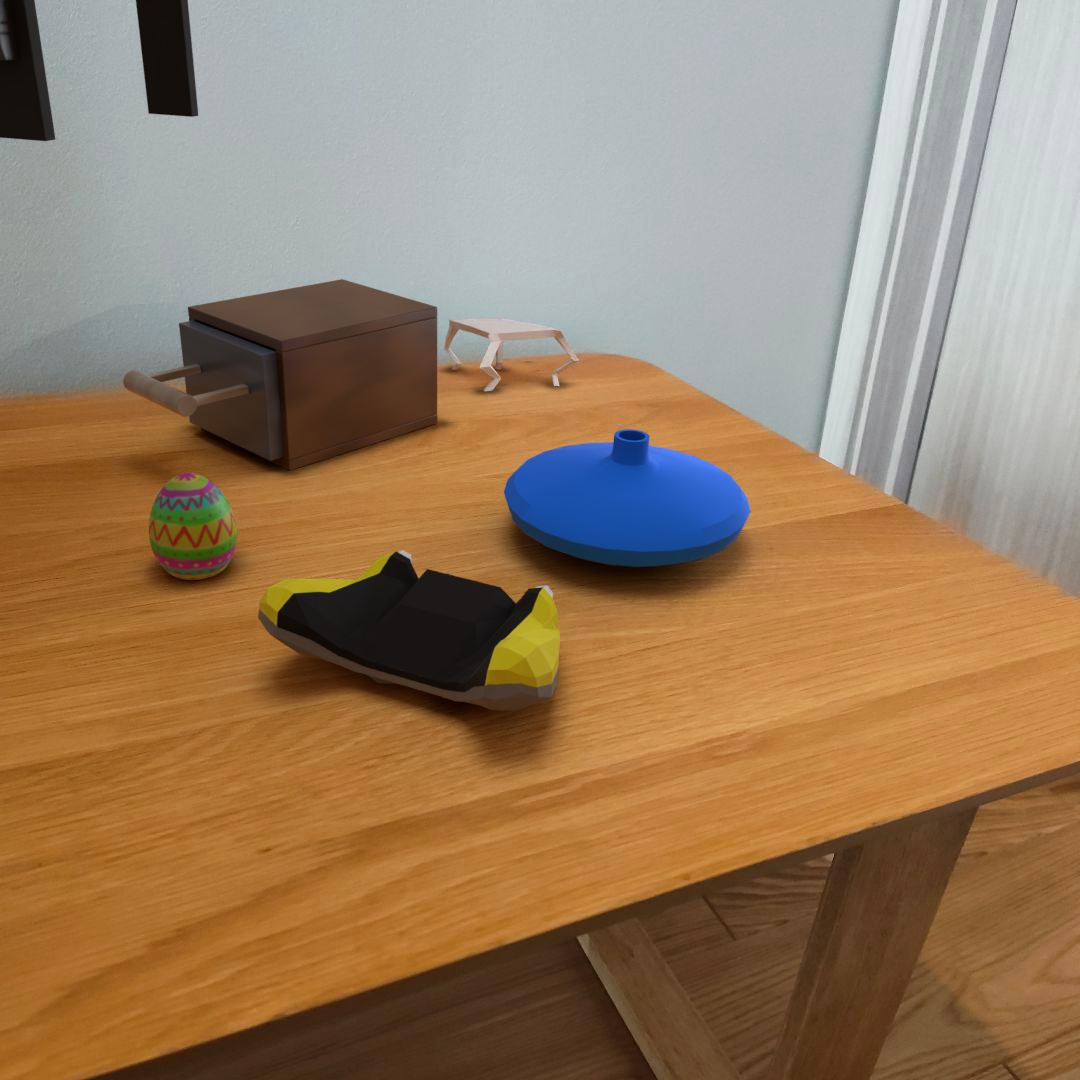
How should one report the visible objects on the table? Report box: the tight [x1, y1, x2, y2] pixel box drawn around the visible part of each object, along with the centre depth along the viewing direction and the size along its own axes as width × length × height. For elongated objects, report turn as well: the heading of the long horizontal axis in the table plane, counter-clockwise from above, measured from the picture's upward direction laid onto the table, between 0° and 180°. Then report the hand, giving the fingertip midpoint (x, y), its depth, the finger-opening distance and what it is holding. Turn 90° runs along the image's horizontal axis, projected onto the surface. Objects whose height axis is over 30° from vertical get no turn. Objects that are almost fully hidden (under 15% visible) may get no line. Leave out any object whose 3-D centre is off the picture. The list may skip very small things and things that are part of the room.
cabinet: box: [187, 278, 438, 471], centre depth 83 cm, size 15×12×10 cm
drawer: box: [122, 320, 284, 462], centre depth 79 cm, size 19×10×8 cm, turn 138°
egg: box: [148, 472, 238, 581], centre depth 62 cm, size 5×5×6 cm
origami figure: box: [443, 317, 580, 392], centre depth 96 cm, size 12×8×5 cm
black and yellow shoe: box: [257, 549, 561, 712], centre depth 53 cm, size 15×6×10 cm
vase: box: [503, 428, 751, 568], centre depth 68 cm, size 16×16×7 cm
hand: (107, 126), depth 55 cm, fingers open, 13 cm apart
